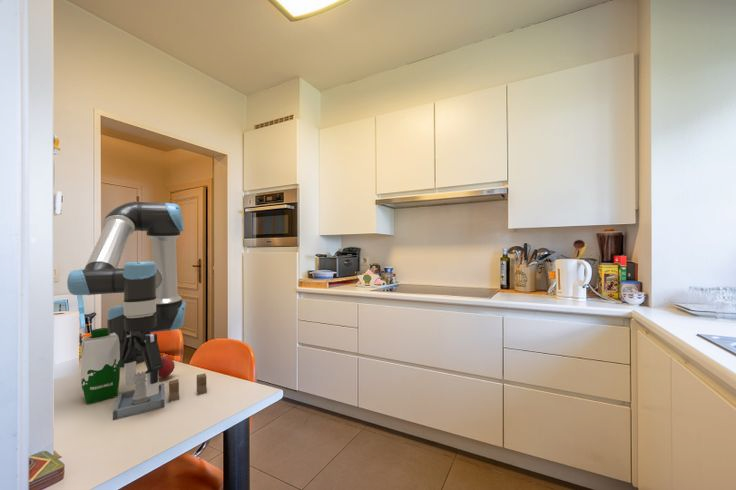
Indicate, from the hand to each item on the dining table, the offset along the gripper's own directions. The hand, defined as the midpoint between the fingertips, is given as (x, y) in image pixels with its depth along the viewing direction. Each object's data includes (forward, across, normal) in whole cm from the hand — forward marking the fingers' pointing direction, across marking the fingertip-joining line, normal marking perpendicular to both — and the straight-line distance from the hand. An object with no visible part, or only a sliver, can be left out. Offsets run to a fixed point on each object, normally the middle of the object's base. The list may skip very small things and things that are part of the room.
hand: (141, 389), depth 88 cm
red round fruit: (+4, +14, -13) cm, 19 cm away
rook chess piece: (+4, 0, 0) cm, 4 cm away
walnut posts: (+4, -7, -10) cm, 12 cm away
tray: (+4, 0, 0) cm, 4 cm away
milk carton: (+4, +16, +4) cm, 17 cm away
